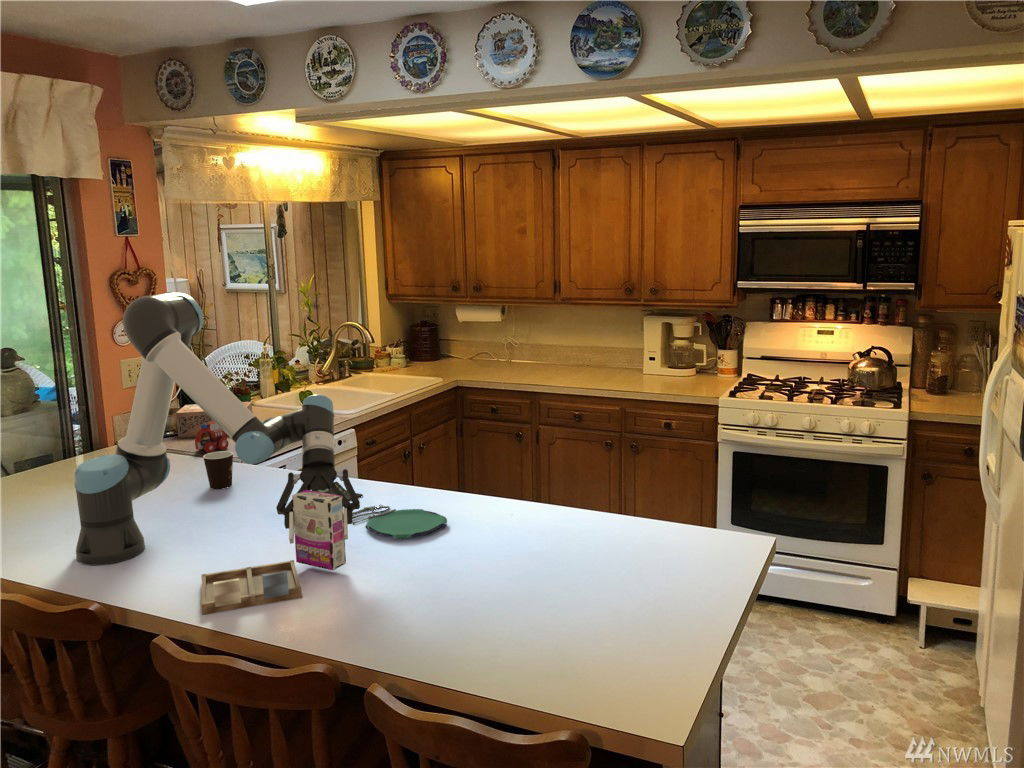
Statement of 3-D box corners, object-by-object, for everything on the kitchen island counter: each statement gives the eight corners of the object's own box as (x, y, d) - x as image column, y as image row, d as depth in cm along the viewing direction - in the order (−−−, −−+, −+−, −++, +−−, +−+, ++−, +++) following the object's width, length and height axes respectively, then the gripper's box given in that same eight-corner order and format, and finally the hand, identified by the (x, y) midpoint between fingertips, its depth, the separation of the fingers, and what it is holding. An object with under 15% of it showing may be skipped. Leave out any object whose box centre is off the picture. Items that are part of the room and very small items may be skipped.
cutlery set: (400, 549, 196) (400, 540, 196) (330, 522, 216) (330, 514, 216) (460, 527, 210) (460, 518, 210) (389, 504, 231) (389, 496, 230)
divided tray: (202, 614, 164) (199, 586, 162) (202, 583, 178) (199, 557, 177) (302, 597, 170) (300, 570, 169) (294, 568, 185) (292, 543, 184)
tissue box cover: (253, 425, 328) (251, 401, 326) (247, 434, 314) (245, 409, 312) (187, 429, 324) (185, 404, 322) (178, 437, 310) (175, 412, 308)
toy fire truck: (191, 452, 288) (188, 424, 286) (222, 444, 298) (220, 417, 296) (201, 455, 284) (198, 426, 282) (233, 447, 293) (230, 420, 291)
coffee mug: (226, 491, 243) (223, 459, 241) (200, 490, 245) (197, 458, 243) (246, 479, 254) (243, 449, 252) (221, 478, 256) (218, 448, 254)
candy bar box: (347, 563, 184) (343, 495, 181) (333, 571, 179) (329, 501, 176) (309, 554, 189) (305, 488, 186) (295, 562, 185) (290, 494, 181)
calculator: (338, 506, 228) (337, 496, 228) (311, 498, 235) (311, 489, 234) (362, 497, 235) (362, 487, 235) (336, 490, 242) (335, 481, 242)
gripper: (265, 449, 187) (262, 536, 175) (368, 443, 191) (371, 528, 179) (269, 464, 193) (266, 549, 181) (368, 458, 197) (372, 541, 185)
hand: (318, 539), depth 180 cm, fingers closed on candy bar box, 11 cm apart
